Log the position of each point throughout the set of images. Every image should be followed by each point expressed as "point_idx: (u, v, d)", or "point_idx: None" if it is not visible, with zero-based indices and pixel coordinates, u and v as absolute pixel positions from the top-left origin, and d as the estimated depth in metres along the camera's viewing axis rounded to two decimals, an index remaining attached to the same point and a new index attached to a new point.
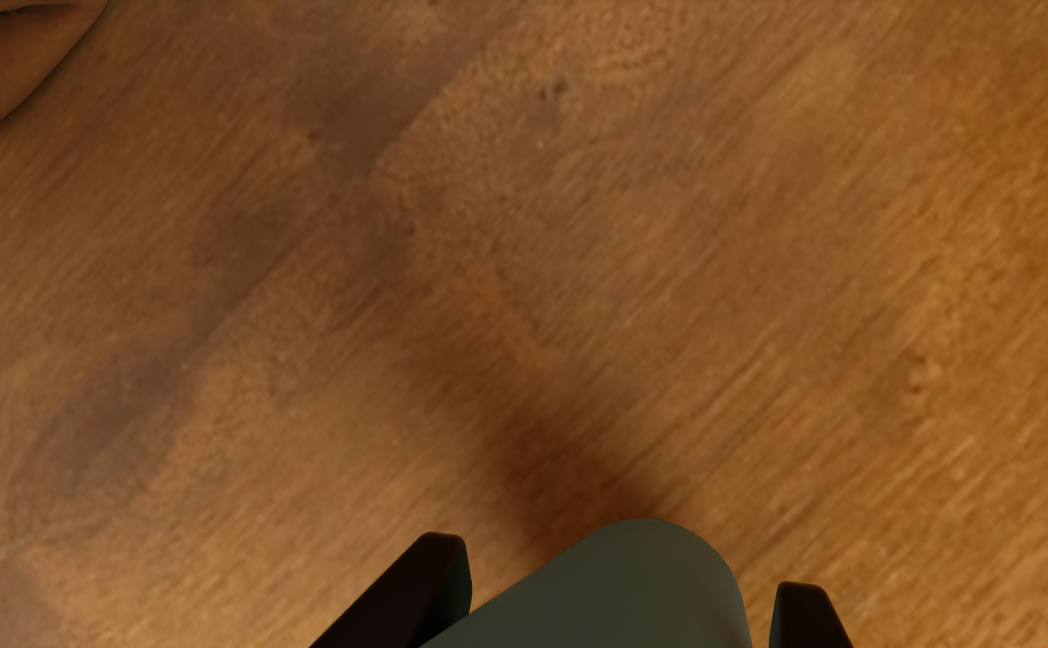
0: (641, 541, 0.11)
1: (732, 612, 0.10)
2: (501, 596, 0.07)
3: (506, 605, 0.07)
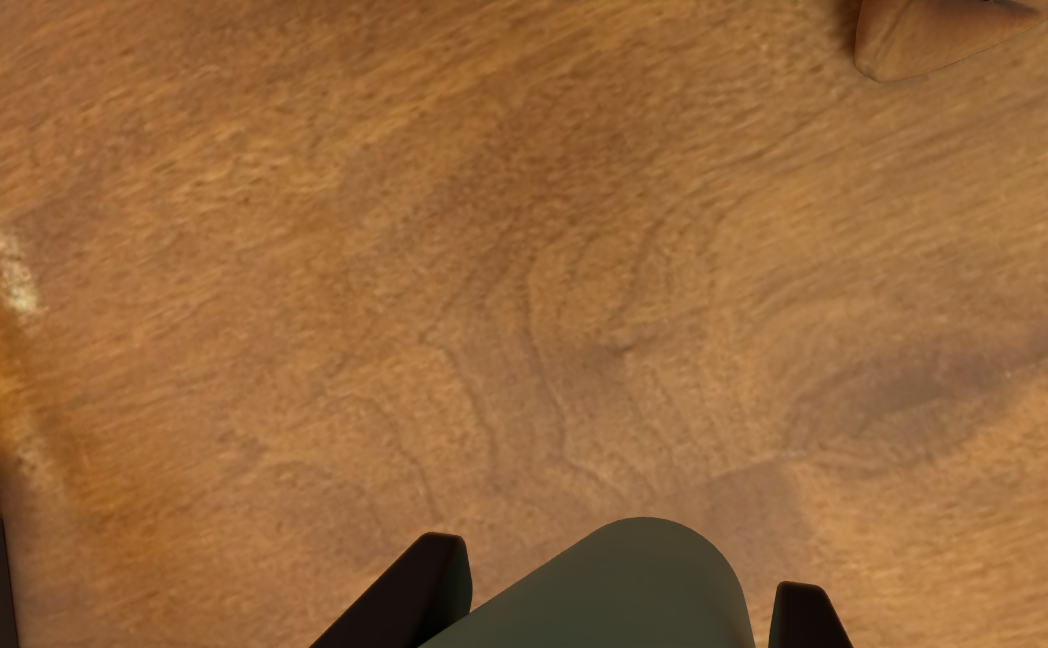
0: (644, 539, 0.11)
1: (735, 610, 0.10)
2: (505, 593, 0.07)
3: (510, 602, 0.07)
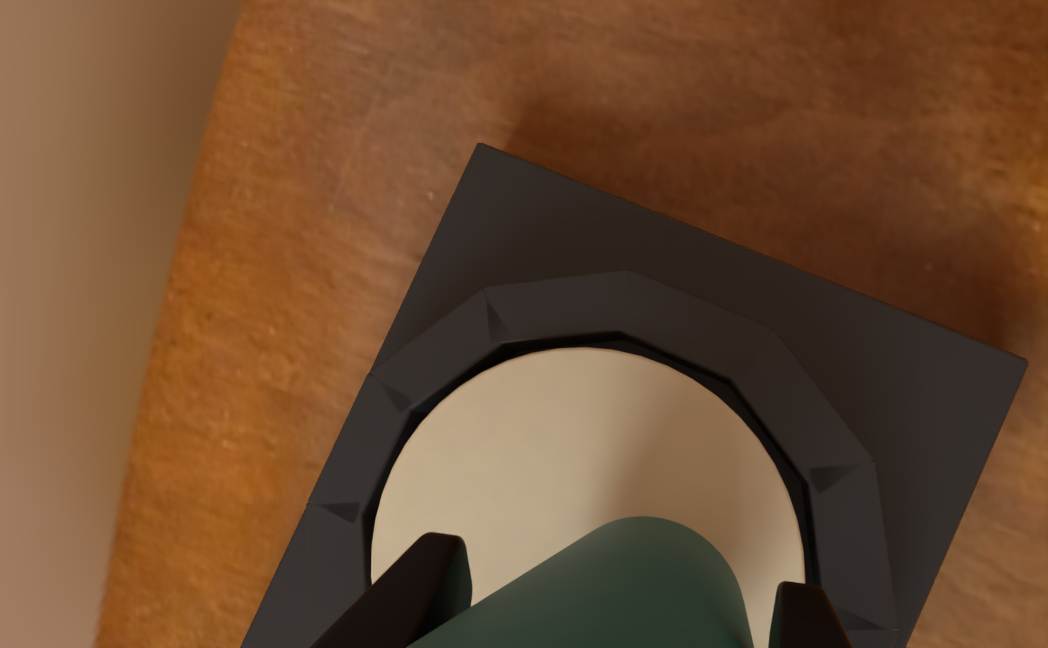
0: (642, 537, 0.11)
1: (733, 608, 0.10)
2: (502, 589, 0.07)
3: (508, 597, 0.07)
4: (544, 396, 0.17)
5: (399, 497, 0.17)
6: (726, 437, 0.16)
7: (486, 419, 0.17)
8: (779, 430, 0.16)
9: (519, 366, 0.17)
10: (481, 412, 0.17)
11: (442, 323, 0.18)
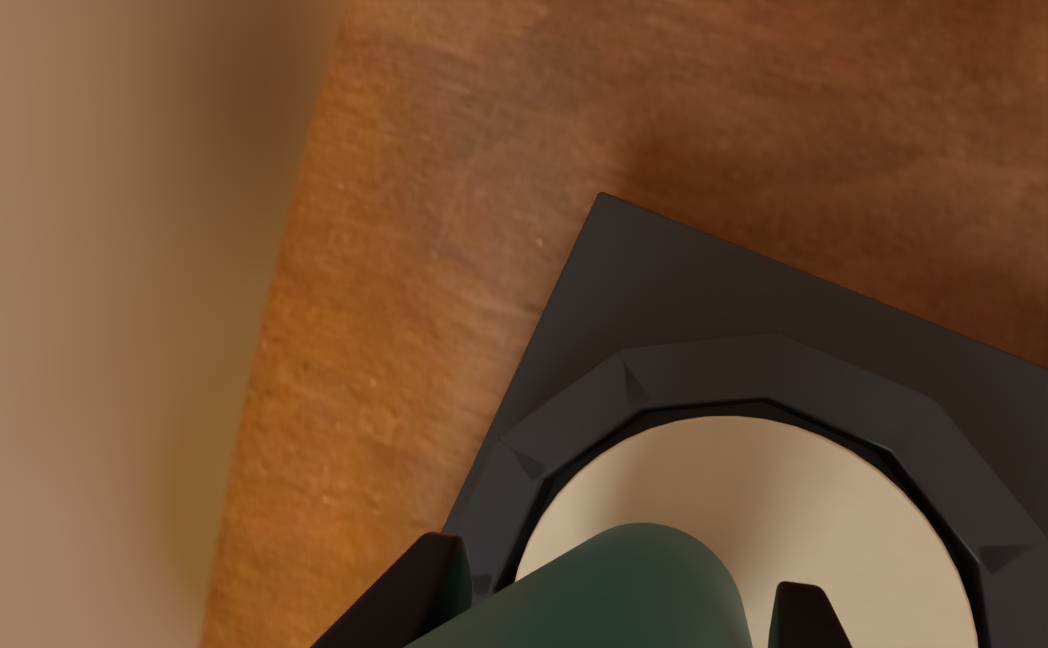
0: (642, 542, 0.11)
1: (733, 612, 0.10)
2: (504, 590, 0.07)
3: (509, 596, 0.07)
4: (692, 467, 0.16)
5: None
6: (891, 514, 0.15)
7: (630, 490, 0.16)
8: (945, 506, 0.15)
9: (664, 435, 0.16)
10: (624, 483, 0.16)
11: (576, 386, 0.17)
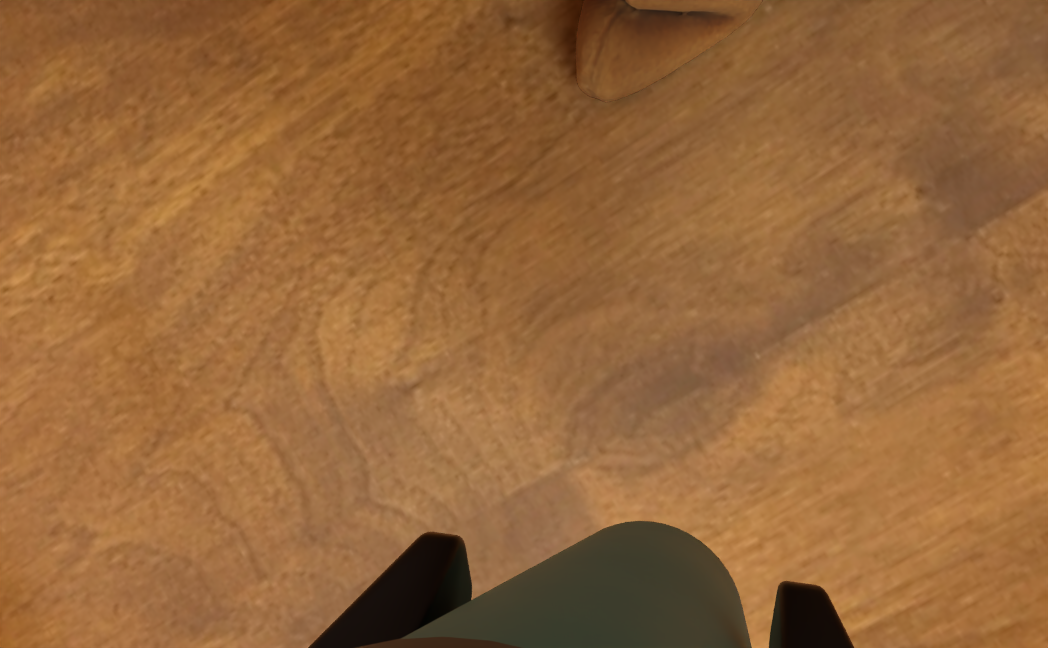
0: (640, 539, 0.11)
1: (731, 609, 0.10)
2: (501, 584, 0.07)
3: (507, 589, 0.07)
4: None
5: None
6: None
7: None
8: None
9: None
10: None
11: None
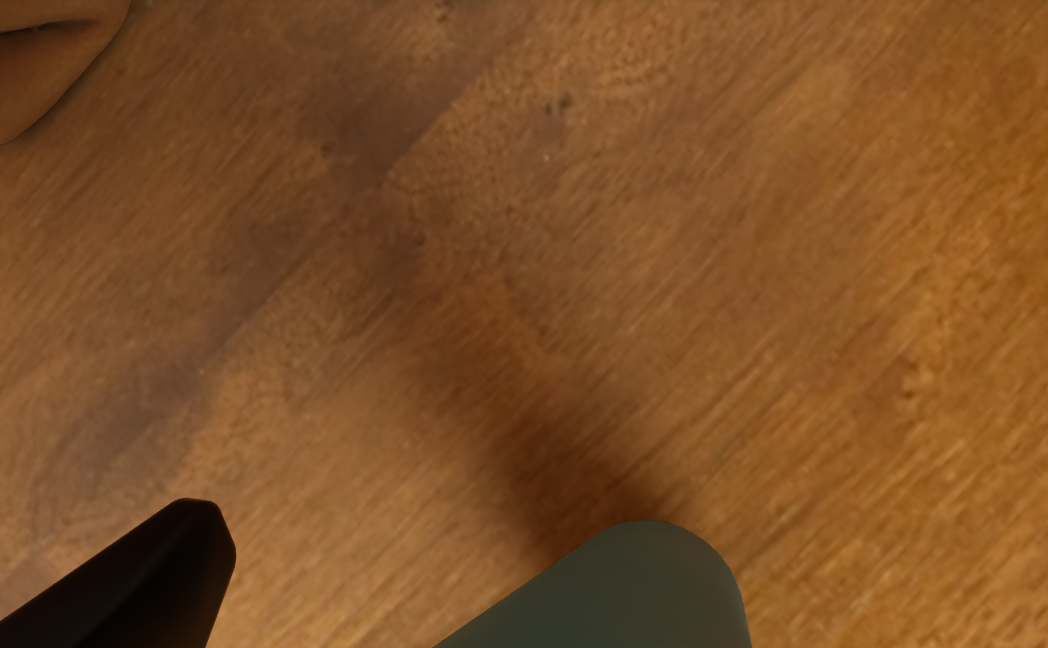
0: (646, 542, 0.12)
1: (732, 610, 0.10)
2: (519, 592, 0.08)
3: (525, 600, 0.07)
4: None
5: None
6: None
7: None
8: None
9: None
10: None
11: None
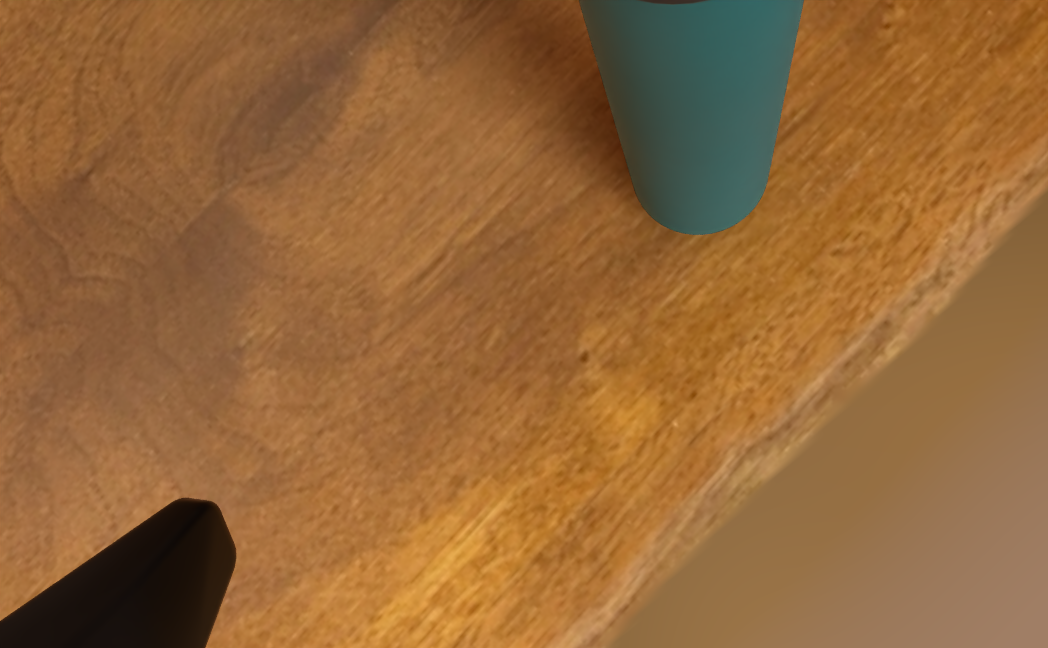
0: None
1: None
2: None
3: None
4: None
5: None
6: None
7: None
8: None
9: None
10: None
11: None
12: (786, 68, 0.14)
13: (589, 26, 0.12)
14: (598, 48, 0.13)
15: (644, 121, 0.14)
